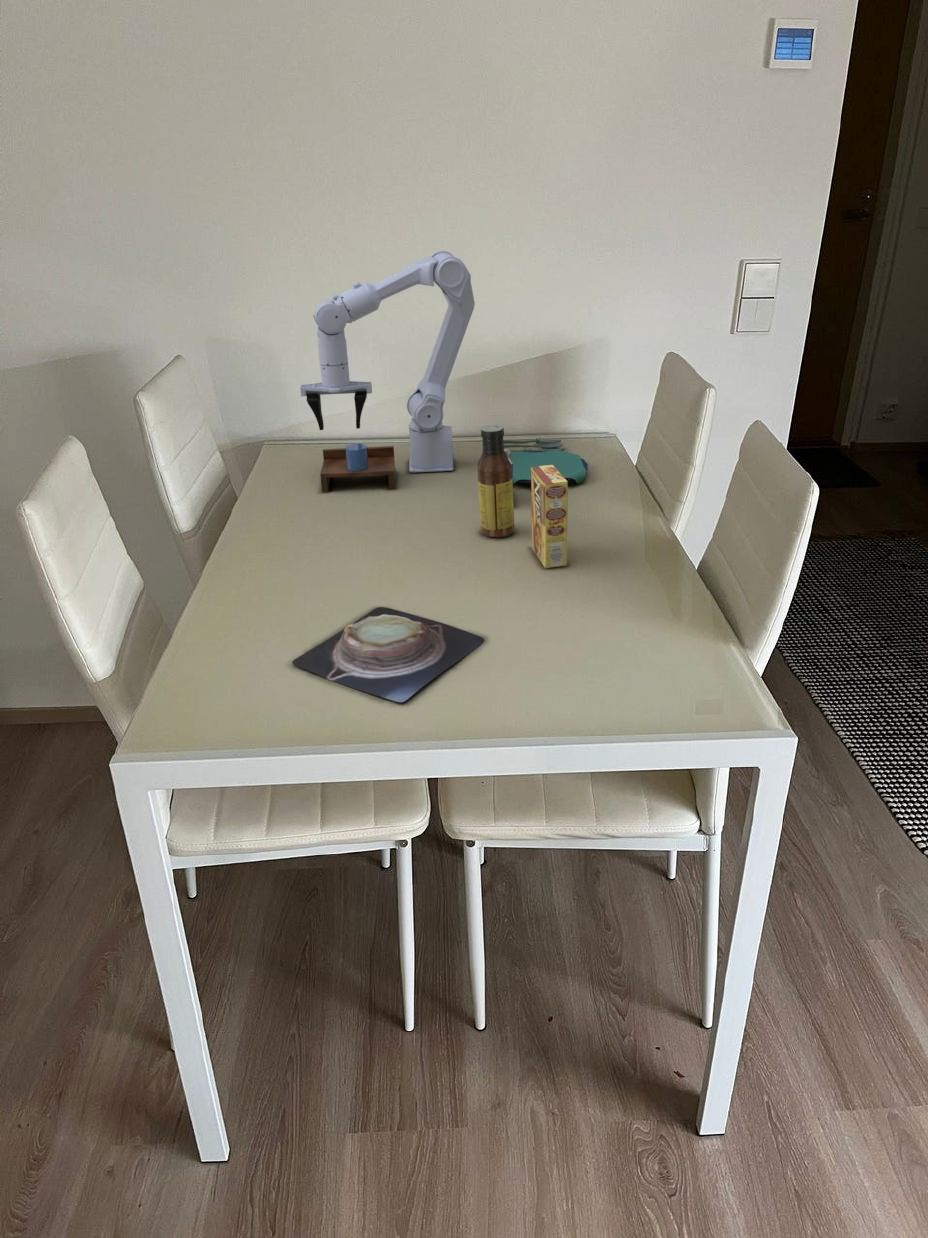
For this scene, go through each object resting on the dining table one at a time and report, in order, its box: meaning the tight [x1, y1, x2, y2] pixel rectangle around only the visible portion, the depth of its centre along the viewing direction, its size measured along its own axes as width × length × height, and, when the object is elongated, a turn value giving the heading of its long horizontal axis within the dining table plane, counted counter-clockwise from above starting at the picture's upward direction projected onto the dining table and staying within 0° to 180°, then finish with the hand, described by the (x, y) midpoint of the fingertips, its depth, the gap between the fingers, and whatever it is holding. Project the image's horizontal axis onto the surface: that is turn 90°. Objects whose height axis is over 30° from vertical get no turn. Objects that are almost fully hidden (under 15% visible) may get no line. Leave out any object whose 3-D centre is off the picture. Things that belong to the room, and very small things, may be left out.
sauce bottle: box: [476, 424, 515, 538], centre depth 172 cm, size 7×6×20 cm
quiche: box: [291, 606, 485, 703], centre depth 139 cm, size 21×20×4 cm
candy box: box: [530, 465, 569, 569], centre depth 163 cm, size 9×4×15 cm, turn 12°
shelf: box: [319, 445, 397, 493], centre depth 201 cm, size 15×10×6 cm, turn 93°
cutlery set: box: [503, 437, 589, 485], centre depth 208 cm, size 20×30×2 cm, turn 1°
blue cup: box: [344, 443, 368, 471], centre depth 198 cm, size 4×4×4 cm
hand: (340, 427), depth 202 cm, fingers open, 7 cm apart
